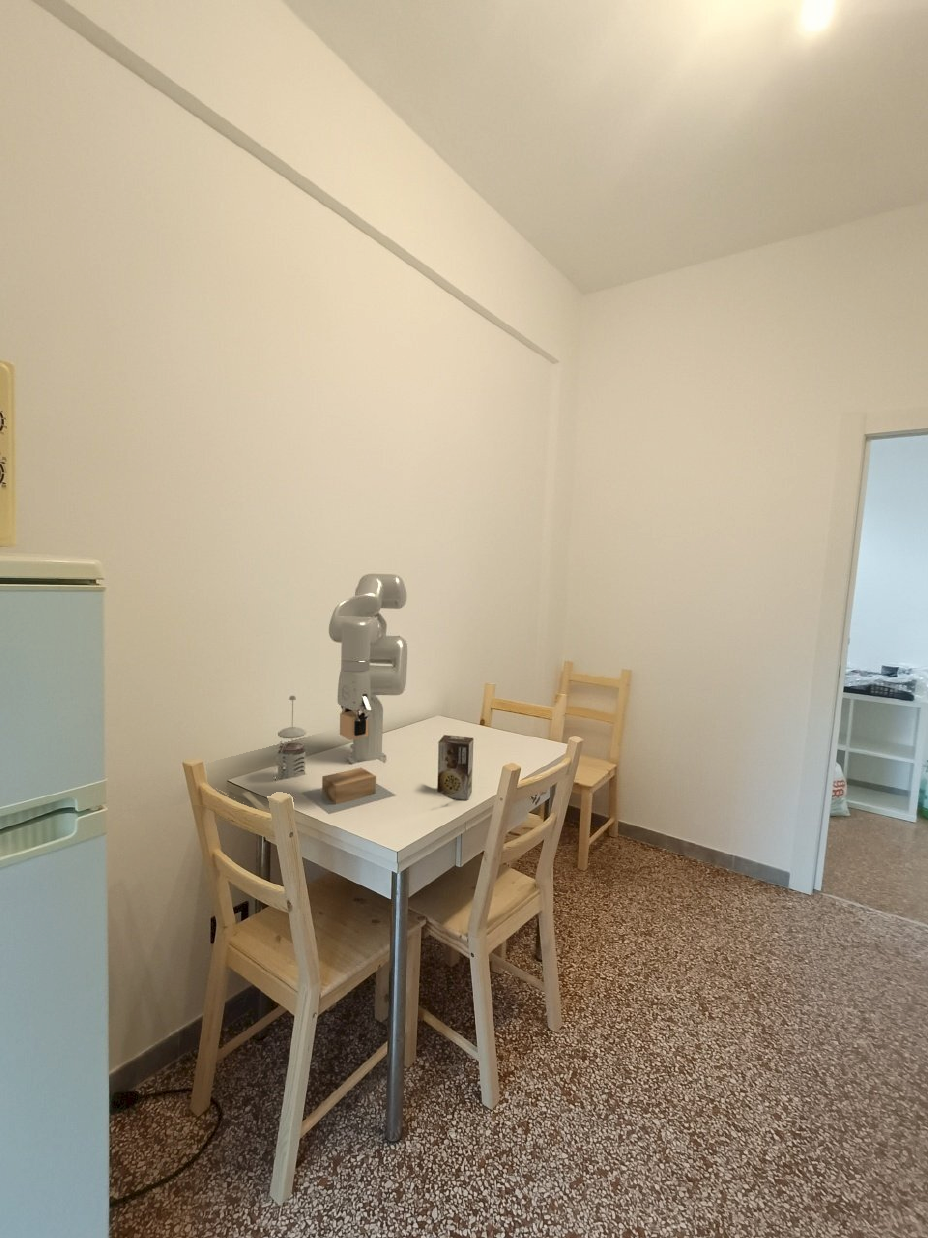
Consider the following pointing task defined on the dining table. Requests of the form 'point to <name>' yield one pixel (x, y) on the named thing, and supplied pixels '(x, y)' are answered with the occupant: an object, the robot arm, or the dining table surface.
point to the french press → (291, 752)
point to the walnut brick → (348, 785)
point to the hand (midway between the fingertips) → (354, 731)
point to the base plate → (332, 807)
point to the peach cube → (350, 725)
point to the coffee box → (455, 766)
